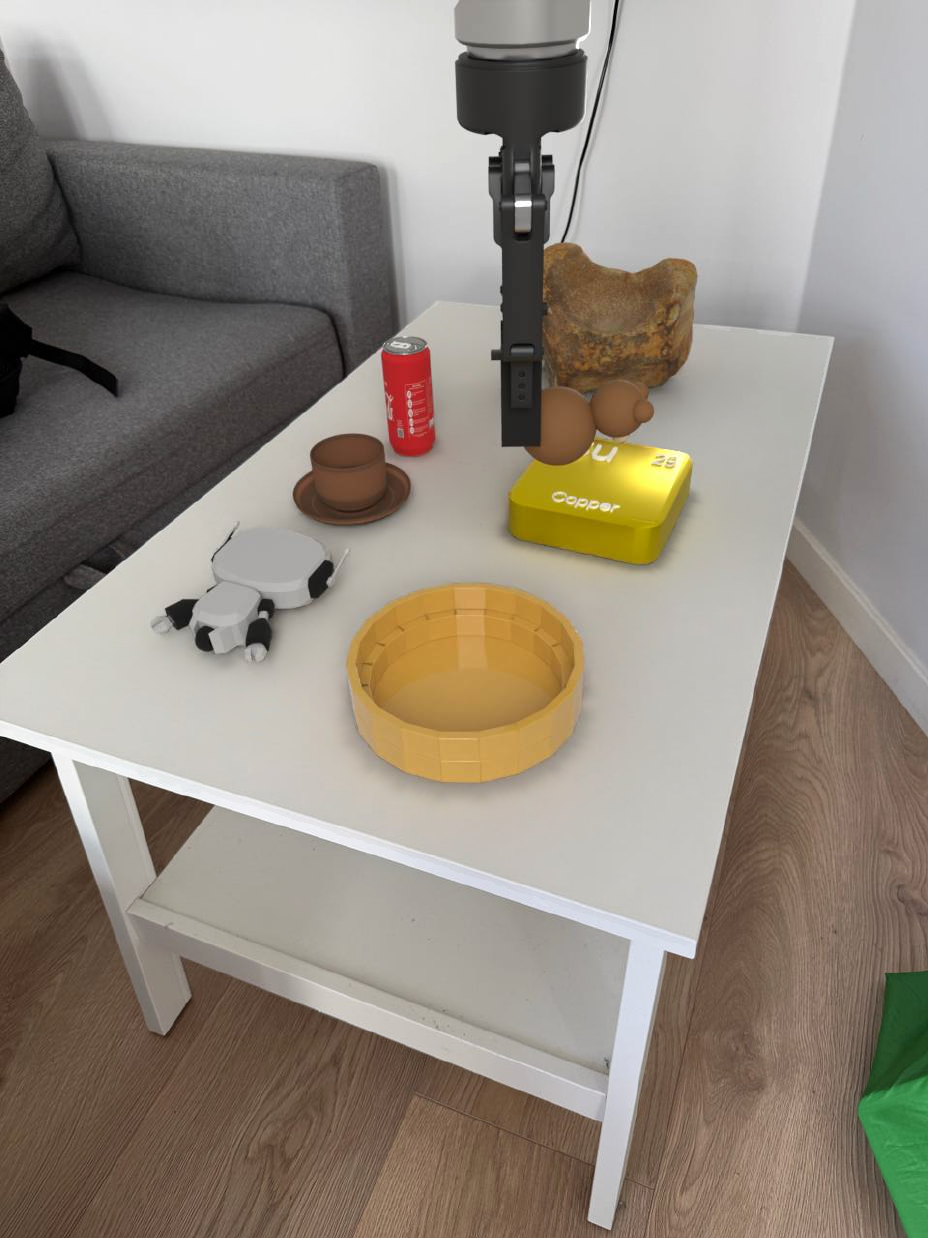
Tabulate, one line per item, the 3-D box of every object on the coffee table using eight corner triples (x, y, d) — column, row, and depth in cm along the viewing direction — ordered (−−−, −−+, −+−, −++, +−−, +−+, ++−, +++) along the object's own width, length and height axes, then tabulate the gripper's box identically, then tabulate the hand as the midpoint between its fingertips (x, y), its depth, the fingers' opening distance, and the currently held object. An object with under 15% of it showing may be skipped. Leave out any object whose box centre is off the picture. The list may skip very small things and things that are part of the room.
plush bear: (529, 451, 70) (653, 415, 68) (532, 488, 66) (664, 452, 64) (508, 386, 67) (637, 346, 65) (509, 421, 63) (648, 380, 60)
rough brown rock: (484, 405, 112) (482, 287, 102) (515, 342, 124) (516, 230, 113) (675, 429, 107) (694, 307, 97) (689, 361, 119) (708, 245, 108)
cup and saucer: (289, 484, 98) (280, 432, 94) (399, 467, 100) (395, 415, 96) (302, 545, 88) (292, 490, 85) (423, 524, 90) (419, 469, 87)
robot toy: (270, 690, 74) (360, 577, 83) (257, 650, 71) (353, 538, 80) (150, 652, 78) (249, 549, 88) (133, 613, 75) (238, 510, 85)
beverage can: (422, 462, 100) (415, 357, 93) (381, 453, 102) (371, 350, 95) (443, 441, 104) (438, 338, 96) (403, 433, 106) (395, 332, 98)
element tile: (501, 537, 88) (501, 494, 85) (554, 465, 99) (555, 424, 96) (654, 570, 83) (659, 526, 80) (692, 490, 94) (698, 448, 91)
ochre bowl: (575, 630, 77) (577, 582, 74) (586, 790, 63) (590, 740, 60) (370, 629, 78) (364, 582, 75) (338, 787, 64) (329, 737, 61)
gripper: (460, 29, 58) (471, 373, 73) (447, 76, 44) (464, 490, 59) (577, 24, 58) (565, 371, 73) (602, 70, 44) (580, 489, 59)
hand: (520, 424), depth 66 cm, fingers closed on plush bear, 5 cm apart
